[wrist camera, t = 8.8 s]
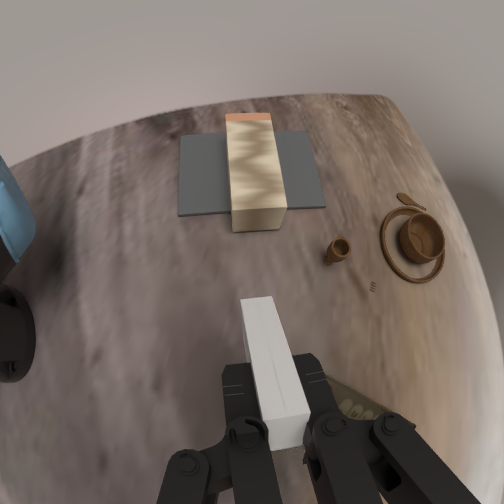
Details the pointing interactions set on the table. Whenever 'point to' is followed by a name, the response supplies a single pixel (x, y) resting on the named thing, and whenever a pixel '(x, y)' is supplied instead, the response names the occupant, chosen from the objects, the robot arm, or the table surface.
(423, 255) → the place setting
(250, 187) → the birch block
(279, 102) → the table surface
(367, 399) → the beverage carton
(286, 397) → the robot arm
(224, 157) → the rubber mat
